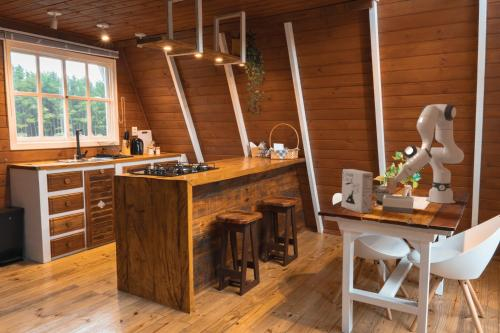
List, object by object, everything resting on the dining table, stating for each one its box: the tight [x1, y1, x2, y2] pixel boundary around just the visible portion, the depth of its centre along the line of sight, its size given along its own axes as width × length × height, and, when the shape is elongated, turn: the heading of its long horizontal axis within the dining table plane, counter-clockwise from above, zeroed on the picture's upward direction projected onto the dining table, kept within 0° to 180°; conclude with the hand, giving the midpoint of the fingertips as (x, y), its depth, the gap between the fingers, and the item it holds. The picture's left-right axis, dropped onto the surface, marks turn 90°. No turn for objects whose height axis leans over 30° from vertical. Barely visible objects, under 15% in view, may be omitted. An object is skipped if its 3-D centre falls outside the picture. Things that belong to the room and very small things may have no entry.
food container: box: [374, 188, 395, 206], centre depth 271 cm, size 12×6×10 cm, turn 74°
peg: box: [388, 176, 397, 194], centre depth 254 cm, size 4×4×10 cm
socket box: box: [381, 194, 414, 214], centre depth 254 cm, size 14×18×8 cm
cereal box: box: [341, 168, 374, 214], centre depth 252 cm, size 22×8×25 cm, turn 21°
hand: (391, 183), depth 254 cm, fingers closed on peg, 4 cm apart
